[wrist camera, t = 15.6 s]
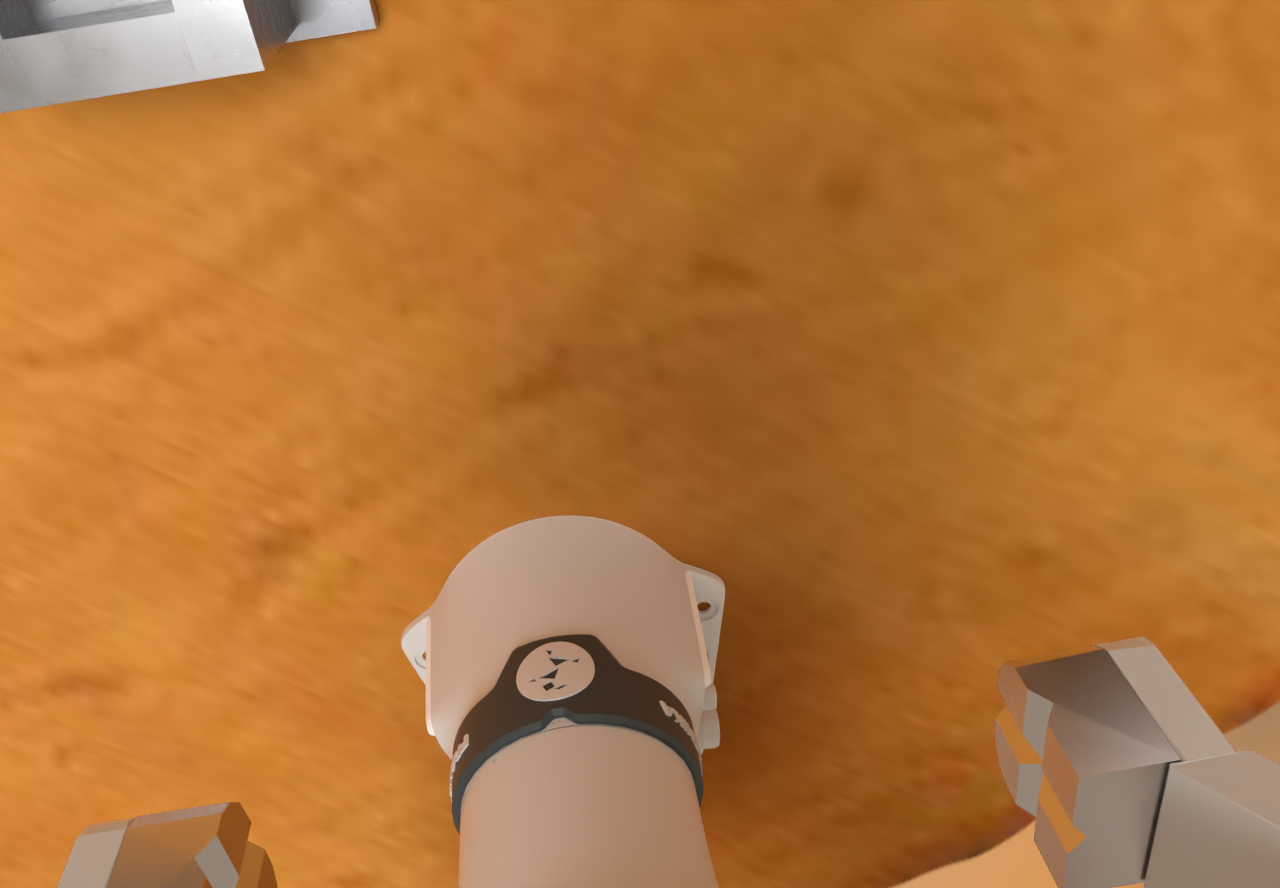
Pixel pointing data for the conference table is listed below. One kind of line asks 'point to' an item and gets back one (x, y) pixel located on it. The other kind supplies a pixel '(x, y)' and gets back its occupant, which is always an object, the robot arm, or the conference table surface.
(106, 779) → the conference table surface
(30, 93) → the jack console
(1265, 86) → the conference table surface
